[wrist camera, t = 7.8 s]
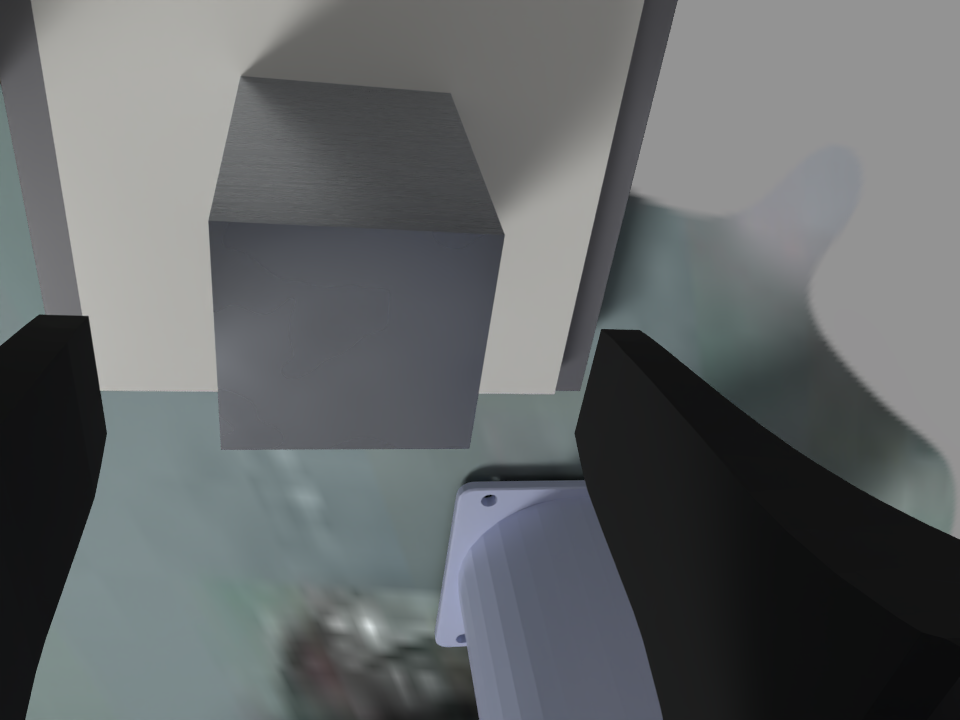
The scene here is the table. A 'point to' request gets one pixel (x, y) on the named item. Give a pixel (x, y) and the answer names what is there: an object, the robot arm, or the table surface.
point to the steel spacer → (349, 269)
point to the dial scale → (326, 59)
